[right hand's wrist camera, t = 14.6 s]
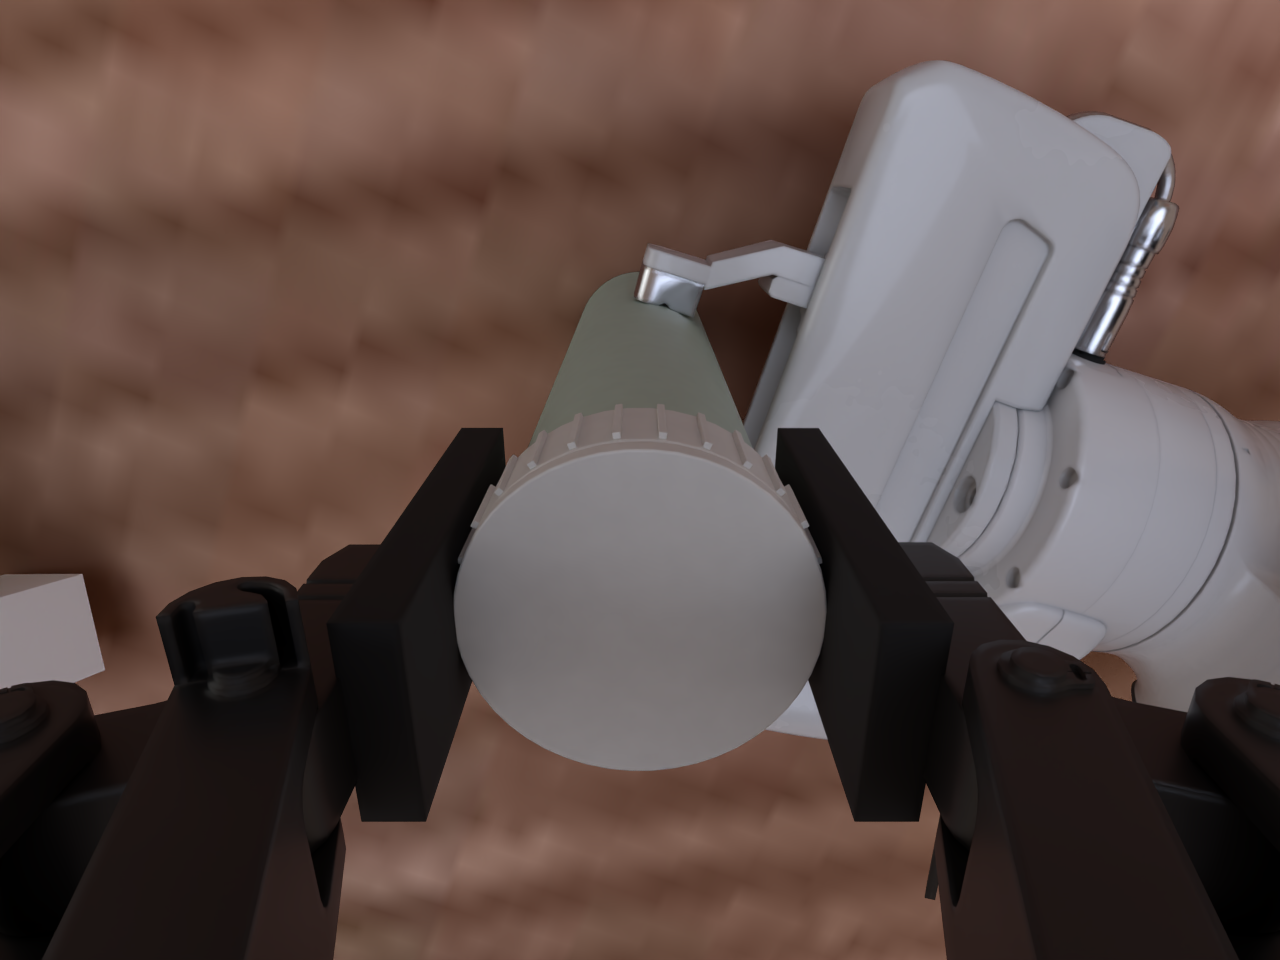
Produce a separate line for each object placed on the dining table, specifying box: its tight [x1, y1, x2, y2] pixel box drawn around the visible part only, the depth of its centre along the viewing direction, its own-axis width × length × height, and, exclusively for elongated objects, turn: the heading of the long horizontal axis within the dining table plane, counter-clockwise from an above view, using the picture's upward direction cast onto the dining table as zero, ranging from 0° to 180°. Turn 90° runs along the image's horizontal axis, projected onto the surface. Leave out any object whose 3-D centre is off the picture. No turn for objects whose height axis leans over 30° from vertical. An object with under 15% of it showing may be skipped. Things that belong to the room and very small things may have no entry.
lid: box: [453, 404, 827, 771], centre depth 11 cm, size 5×5×2 cm
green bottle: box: [528, 272, 752, 447], centre depth 20 cm, size 5×5×19 cm
